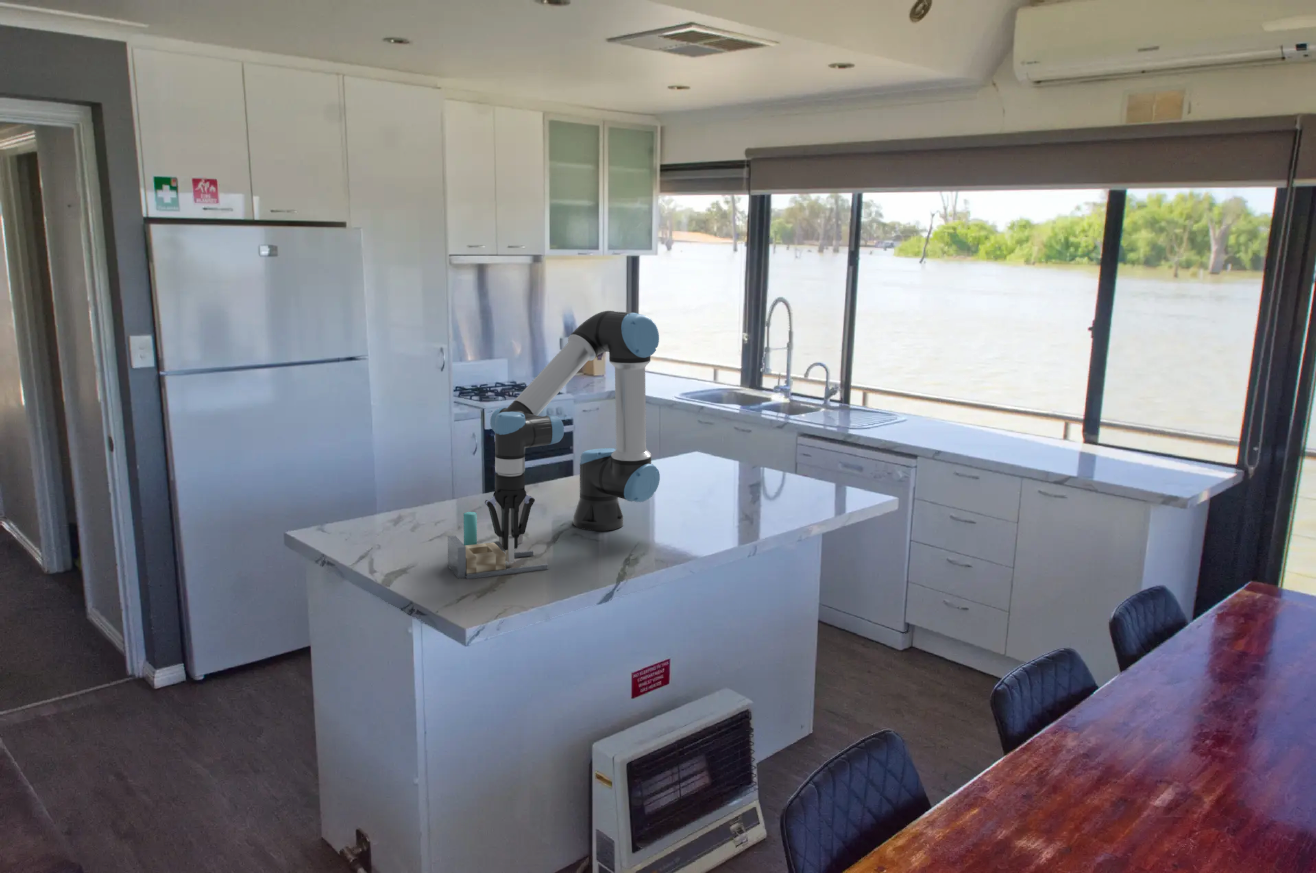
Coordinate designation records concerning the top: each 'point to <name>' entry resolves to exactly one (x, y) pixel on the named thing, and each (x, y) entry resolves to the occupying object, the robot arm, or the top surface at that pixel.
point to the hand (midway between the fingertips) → (509, 560)
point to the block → (484, 558)
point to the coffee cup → (499, 514)
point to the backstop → (459, 569)
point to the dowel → (470, 528)
